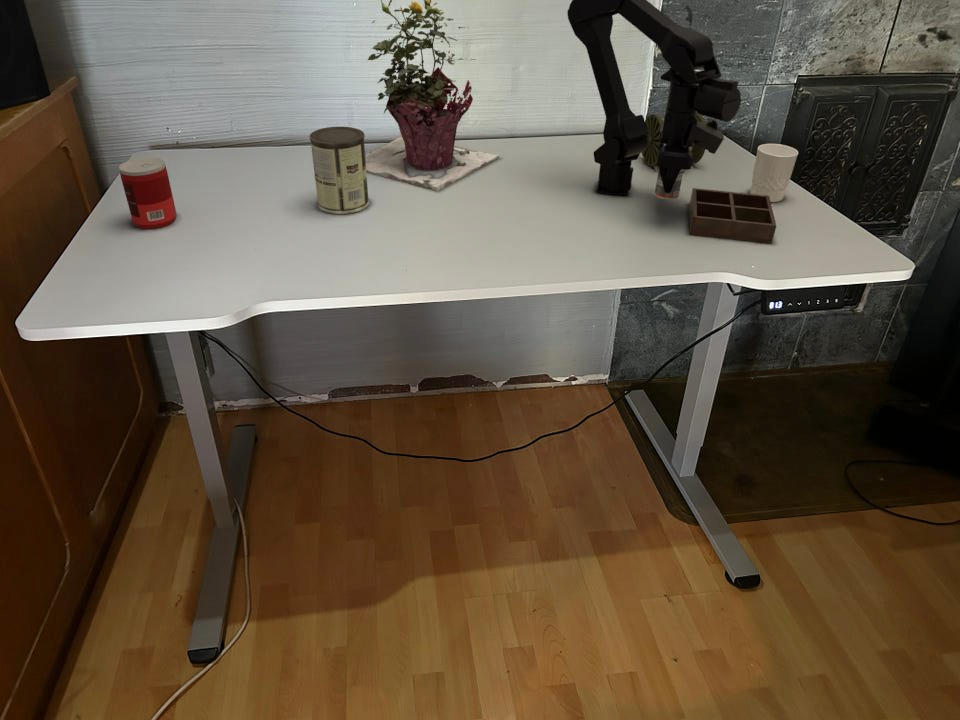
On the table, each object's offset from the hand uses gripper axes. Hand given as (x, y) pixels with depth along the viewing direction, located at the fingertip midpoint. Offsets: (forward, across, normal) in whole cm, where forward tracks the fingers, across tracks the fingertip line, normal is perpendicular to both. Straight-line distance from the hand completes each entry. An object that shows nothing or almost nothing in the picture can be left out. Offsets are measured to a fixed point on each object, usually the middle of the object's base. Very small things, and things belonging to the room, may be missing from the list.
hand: (667, 188), depth 148 cm
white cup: (+5, +13, -21) cm, 25 cm away
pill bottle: (+2, 0, 0) cm, 2 cm away
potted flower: (+5, +13, +55) cm, 57 cm away
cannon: (+5, +33, +2) cm, 33 cm away
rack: (+4, -4, -12) cm, 14 cm away
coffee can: (+5, -15, +63) cm, 65 cm away
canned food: (+5, -32, +94) cm, 99 cm away
